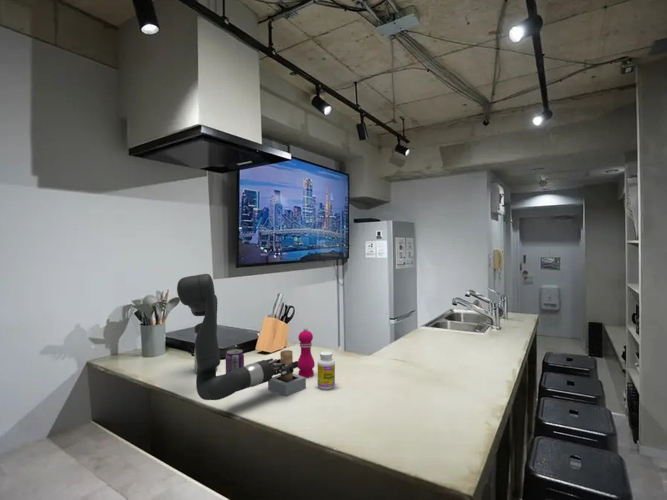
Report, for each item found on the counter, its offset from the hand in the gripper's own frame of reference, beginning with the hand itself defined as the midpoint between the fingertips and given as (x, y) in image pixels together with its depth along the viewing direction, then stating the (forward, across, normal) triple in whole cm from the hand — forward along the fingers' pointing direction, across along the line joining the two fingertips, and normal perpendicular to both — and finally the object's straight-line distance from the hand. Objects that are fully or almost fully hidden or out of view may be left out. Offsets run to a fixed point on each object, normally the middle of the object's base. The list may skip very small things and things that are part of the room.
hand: (291, 362), depth 138 cm
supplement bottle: (+9, -10, +10) cm, 16 cm away
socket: (-2, 0, +10) cm, 10 cm away
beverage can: (-10, +22, +10) cm, 26 cm away
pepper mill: (+13, +5, +10) cm, 17 cm away
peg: (-2, 0, +10) cm, 10 cm away
